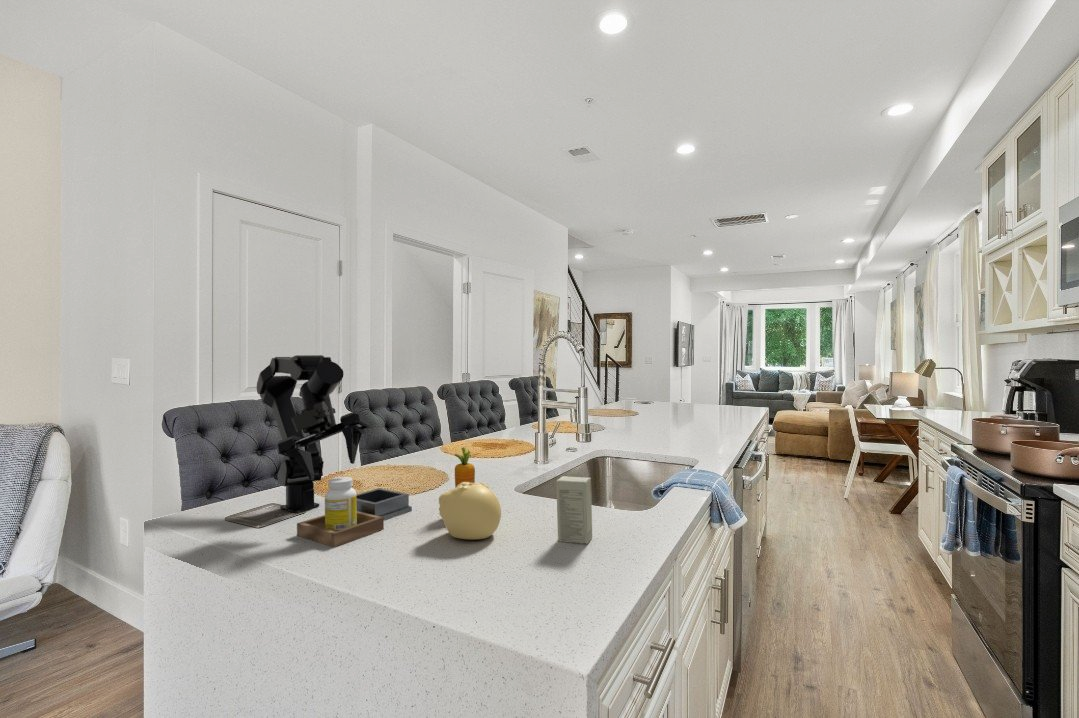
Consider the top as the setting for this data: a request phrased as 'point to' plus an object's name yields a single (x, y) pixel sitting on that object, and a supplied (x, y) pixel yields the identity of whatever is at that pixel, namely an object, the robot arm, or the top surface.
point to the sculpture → (470, 511)
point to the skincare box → (574, 509)
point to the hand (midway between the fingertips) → (332, 471)
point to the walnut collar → (317, 531)
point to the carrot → (464, 469)
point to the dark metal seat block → (383, 503)
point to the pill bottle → (340, 504)
